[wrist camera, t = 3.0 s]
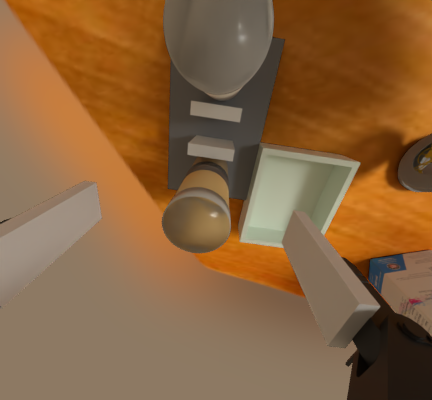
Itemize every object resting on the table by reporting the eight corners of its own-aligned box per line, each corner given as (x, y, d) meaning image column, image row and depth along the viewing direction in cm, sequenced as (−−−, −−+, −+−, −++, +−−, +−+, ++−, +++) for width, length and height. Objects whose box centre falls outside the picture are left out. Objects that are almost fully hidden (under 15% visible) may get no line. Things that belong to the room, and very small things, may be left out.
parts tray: (257, 141, 21) (263, 147, 18) (340, 154, 22) (361, 162, 18) (237, 225, 27) (239, 241, 24) (304, 235, 27) (315, 252, 24)
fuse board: (175, 27, 17) (150, -14, 11) (280, 44, 17) (307, 12, 12) (170, 184, 24) (153, 208, 19) (245, 195, 25) (251, 222, 19)
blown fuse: (194, 147, 21) (162, 190, 10) (230, 153, 21) (236, 201, 10) (192, 181, 22) (161, 248, 12) (225, 186, 23) (224, 257, 12)
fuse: (203, 47, 17) (163, -64, 6) (248, 54, 17) (289, -42, 6) (199, 98, 18) (162, 84, 8) (239, 104, 19) (258, 100, 8)
